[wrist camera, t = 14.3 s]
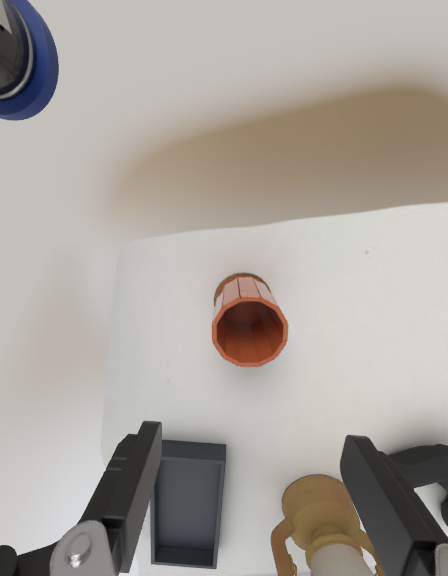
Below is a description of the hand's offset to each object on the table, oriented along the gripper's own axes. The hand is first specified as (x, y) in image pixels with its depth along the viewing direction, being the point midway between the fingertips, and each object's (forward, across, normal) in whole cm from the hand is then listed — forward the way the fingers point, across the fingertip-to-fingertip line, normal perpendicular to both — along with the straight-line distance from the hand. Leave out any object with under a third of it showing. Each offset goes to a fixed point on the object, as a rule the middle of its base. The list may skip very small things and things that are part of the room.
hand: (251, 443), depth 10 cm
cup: (+19, -1, 0) cm, 19 cm away
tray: (+20, +5, +32) cm, 38 cm away
